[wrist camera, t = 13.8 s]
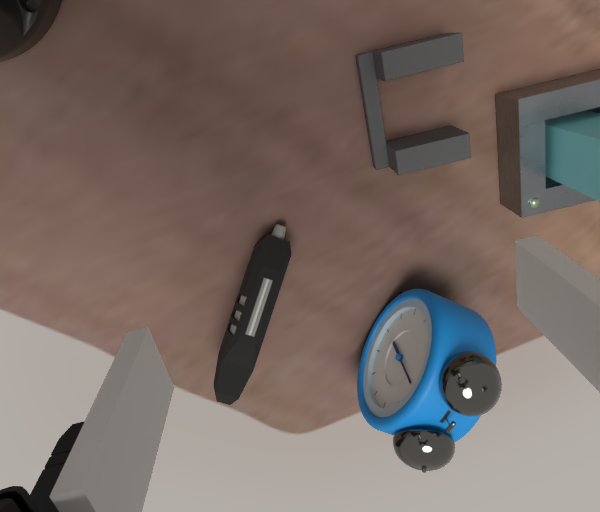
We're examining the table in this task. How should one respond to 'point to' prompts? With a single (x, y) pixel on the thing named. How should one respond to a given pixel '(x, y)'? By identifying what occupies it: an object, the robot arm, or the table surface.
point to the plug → (574, 151)
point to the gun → (251, 315)
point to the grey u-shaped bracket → (398, 63)
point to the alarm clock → (427, 376)
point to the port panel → (538, 141)
